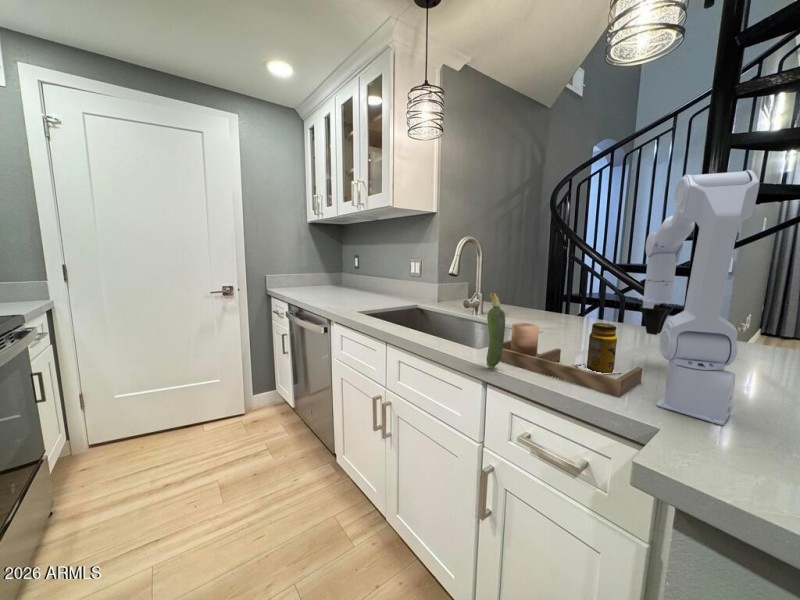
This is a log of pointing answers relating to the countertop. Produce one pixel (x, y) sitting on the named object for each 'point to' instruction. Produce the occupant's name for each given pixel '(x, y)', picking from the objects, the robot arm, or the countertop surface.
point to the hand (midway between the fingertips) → (653, 333)
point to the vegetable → (495, 332)
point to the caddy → (526, 356)
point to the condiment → (602, 348)
